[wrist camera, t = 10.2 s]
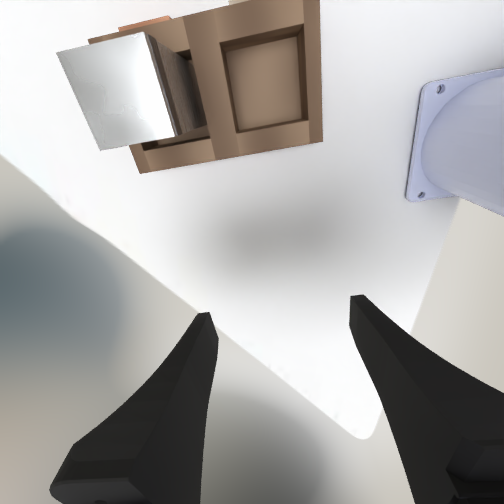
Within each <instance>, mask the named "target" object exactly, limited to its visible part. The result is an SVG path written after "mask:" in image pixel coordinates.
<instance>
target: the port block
mask: <svg viewBox="0 0 504 504" xmlns="http://www.w3.org/2000/svg"><path fill="white" fill-rule="evenodd" d="M118 29H119V32H116V33H112V34H108V35H104V36H100V37H95V38H91V39H88V42H89V44H94V43H99V42H103V41H107V40H111V39H115V38H119V37H124V36H128V35H132V34H136V33H140V32H145V33H146V34H149V35H151V36H152V37H154V38H155V39H156V40H157V41H158V42H160V43H161V44H163V45H164V46H166V47H167V48H169V49H170V50H172V51H173V52H175V53H176V54H178V55H179V56H181V57H182V58H184V59H186V60H187V61H189V62H190V63H192V64H193V65H194V69H195V73H196V77H197V82H198V86H199V90H200V95H201V99H202V103H203V108H204V112H205V116H206V120H207V125H205V126H202V127H200V128H197V129H194V130H191V131H188V132H186V133H183V134H182V135H179V136H174V137H169V138H164V139H159V140H154V141H148V142H143V143H138V144H133V145H129V147H130V150H131V152H132V155H133V157H134V160H135V162H136V165H137V168H138V170H139V173H140V174H142V173H148V172H154V171H159V170H165V169H170V168H176V167H182V166H187V165H193V164H199V163H204V162H210V161H216V160H221V159H227V158H233V157H238V156H244V155H249V154H255V153H261V152H266V151H272V150H278V149H283V148H289V147H295V146H300V145H306V144H312V143H317V142H323V129H322V85H321V41H320V0H230V1H229V5H228V6H224V7H220V8H216V9H211V10H207V11H203V12H199V13H195V14H191V15H187V16H182V17H178V18H174V19H171V18H170V17H169V16H164V17H160V18H156V19H152V20H148V21H143V22H139V23H135V24H131V25H127V26H123V27H119V28H118Z"/></svg>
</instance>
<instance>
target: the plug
mask: <svg viewBox="0 0 504 504" xmlns="http://www.w3.org/2000/svg"><path fill="white" fill-rule="evenodd" d="M56 54H57V56H58V58H59V60H60V62H61V65H62V67H63V69H64V71H65V74H66V76H67V78H68V80H69V83H70V85H71V87H72V89H73V91H74V94H75V96H76V98H77V100H78V103H79V105H80V107H81V109H82V111H83V114H84V116H85V118H86V120H87V123H88V125H89V127H90V129H91V132H92V134H93V136H94V138H95V140H96V143H97V145H98V147H99V149H100V151H101V150H106V149H112V148H117V147H122V146H127V145H133V144H138V143H143V142H148V141H154V140H159V139H164V138H169V137H174V136H179V135H182V134H183V133H186V132H188V131H191V130H194V129H197V128H200V127H202V126H205V125H207V120H206V116H205V112H204V108H203V103H202V99H201V95H200V90H199V86H198V82H197V77H196V73H195V69H194V65H193V64H192V63H190V62H189V61H187V60H186V59H184V58H182V57H181V56H179V55H178V54H176V53H175V52H173V51H172V50H170V49H169V48H167V47H166V46H164V45H163V44H161V43H160V42H158V41H157V40H156V39H155V38H154V37H152V36H151V35H149V34H146V33H145V32H140V33H136V34H132V35H128V36H124V37H119V38H115V39H111V40H107V41H103V42H99V43H94V44H90V45H86V46H82V47H78V48H74V49H69V50H65V51H61V52H57V53H56Z"/></svg>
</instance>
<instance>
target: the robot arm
mask: <svg viewBox="0 0 504 504" xmlns="http://www.w3.org/2000/svg"><path fill="white" fill-rule="evenodd" d="M439 85H441V91H440V92H439V93H437V91H436V90H437V87H438V86H439ZM421 192H422V195H421V196H419V197H418V195H419V193H421ZM451 196H459V197H461V198H463V199H466V200H468V201H470V202H472V203H475V204H477V205H479V206H481V207H484V208H486V209H488V210H490V211H493V212H495V213H497V214H499V215H502V216H504V68H500V69H495V70H490V71H485V72H479V73H474V74H469V75H464V76H459V77H453V78H448V79H443V80H438V81H433V82H429V83H427V84H426V85H425V86H424V87H423V89H422V92H421V98H420V104H419V111H418V118H417V125H416V131H415V138H414V145H413V152H412V158H411V165H410V172H409V178H408V185H407V192H406V199H407V200H408V201H410V202H417V201H424V200H431V199H438V198H445V197H451ZM349 326H350V329H351V332H352V335H353V338H354V341H355V344H356V347H357V349H358V351H359V353H360V355H361V358H362V360H363V362H364V364H365V366H366V368H367V371H368V373H369V375H370V377H371V379H372V381H373V383H374V386H375V388H376V390H377V392H378V395H379V397H380V399H381V402H382V405H383V408H384V411H385V413H386V416H387V419H388V422H389V424H390V427H391V430H392V433H393V436H394V439H395V442H396V445H397V448H398V451H399V454H400V457H401V460H402V463H403V466H404V469H405V472H406V475H407V479H408V482H409V485H410V489H411V492H412V495H413V498H414V502H415V504H504V393H502V392H501V391H499V390H497V389H495V388H493V387H491V386H489V385H487V384H485V383H483V382H482V381H480V380H478V379H476V378H474V377H472V376H471V375H469V374H468V373H466V372H464V371H462V370H461V369H459V368H457V367H455V366H454V365H452V364H451V363H449V362H448V361H446V360H444V359H443V358H441V357H440V356H438V355H437V354H435V353H434V352H432V351H431V350H429V349H428V348H426V347H425V346H424V345H422V344H421V343H420V342H418V341H417V340H416V339H414V338H413V337H412V336H410V335H409V334H408V333H407V332H405V331H404V330H403V329H402V328H400V327H399V326H398V325H397V324H396V323H394V322H393V321H392V320H391V319H390V318H389V317H387V316H386V315H385V314H384V313H383V312H382V311H381V310H380V309H379V308H377V307H376V306H375V305H374V304H373V303H372V302H371V301H370V300H369V299H368V298H367V297H366V296H364V295H355V296H350V320H349ZM218 339H219V338H218V336H217V333H216V330H215V327H214V324H213V321H212V318H211V315H210V312H205V313H198V314H197V316H196V317H195V318H194V320H193V321H192V323H191V324H190V326H189V327H188V329H187V330H186V332H185V333H184V335H183V336H182V338H181V339H180V340H179V342H178V343H177V344H176V346H175V347H174V349H173V350H172V351H171V353H170V354H169V355H168V357H167V358H166V359H165V360H164V361H163V363H162V364H161V365H160V366H159V368H158V369H157V370H156V371H155V372H154V373H153V375H152V376H151V377H150V378H149V379H148V380H147V381H146V382H145V383H144V384H143V385H142V386H141V387H140V388H139V389H138V390H137V391H136V392H135V393H134V394H133V395H132V396H131V397H130V398H129V399H128V400H127V401H126V402H125V403H124V404H123V405H122V406H120V407H119V408H118V409H117V410H116V411H115V412H114V413H112V414H111V415H110V416H109V417H108V418H107V419H105V420H104V421H103V422H102V423H100V424H99V425H98V426H97V427H96V428H94V429H93V430H92V431H90V432H89V433H88V434H86V435H85V436H84V437H83V438H82V439H80V440H79V441H77V442H76V443H75V444H73V446H72V448H71V449H70V451H69V453H68V455H67V456H66V458H65V460H64V462H63V464H62V466H61V467H60V469H59V471H58V473H57V475H56V477H55V478H54V480H53V482H52V484H51V486H50V489H49V490H50V493H51V495H52V496H53V497H54V498H55V499H56V500H58V501H59V502H61V503H63V504H200V495H201V477H202V462H203V449H204V438H205V427H206V418H207V409H208V403H209V397H210V392H211V387H212V382H213V377H214V372H215V367H216V361H217V354H218Z"/></svg>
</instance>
